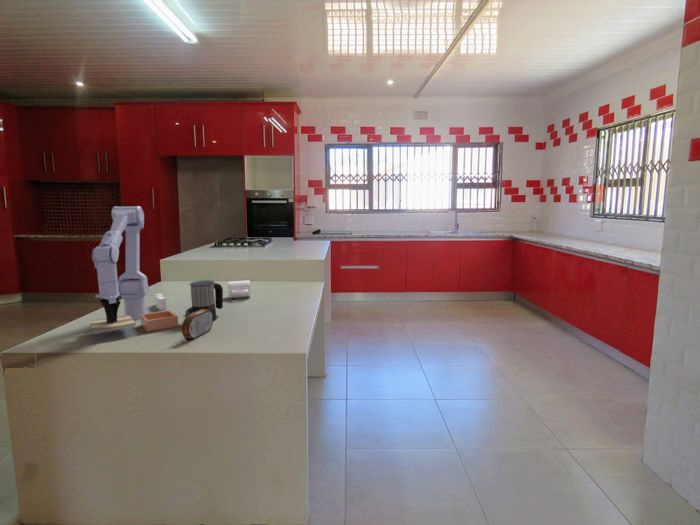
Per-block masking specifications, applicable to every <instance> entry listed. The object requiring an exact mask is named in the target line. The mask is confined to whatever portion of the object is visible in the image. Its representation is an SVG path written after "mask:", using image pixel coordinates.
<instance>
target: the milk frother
mask: <svg viewBox="0 0 700 525" xmlns="http://www.w3.org/2000/svg"><path fill="white" fill-rule="evenodd" d="M189 286H190V295H191V296H190V297H191V307H189V308H187V309H186V310H185V315H186V316H187V315H189V314H191V313H193V312H196V311H198V310H201V309H206V310H210V311H211V312H212V313H213V321H215V320H217V319H218V317H217V311H216V309H219V310H220V309H221V310H222V309H223V306H224V305H223V303H224V300H223V299H224V298H223V297H224V295H223V294H224V289H223V287H222V285H221V284H220V283H217V282H215V281H214V280H196V281H193V282H190V283H189Z"/></svg>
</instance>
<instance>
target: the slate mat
mask: <svg viewBox="0 0 700 525" xmlns="http://www.w3.org/2000/svg"><path fill="white" fill-rule="evenodd" d="M85 334H86V337H87V340H88V343H89V345H94V344H101V343H105V342H111V341H117V340H122V339H130V338H134V337H139V336H142V335H141V333H140V331H139V330H138V328H136V325H133V326H127V327H121V328H115V329H109V330H103V331H97V332H93V331H88V332H85Z"/></svg>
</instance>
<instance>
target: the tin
mask: <svg viewBox="0 0 700 525" xmlns="http://www.w3.org/2000/svg"><path fill="white" fill-rule="evenodd" d="M182 321H183V322H182V326H181V333H182V336H183V338H185V339H191V340H194V339H197V338H199V337H201V336H203V335H205V334H206V333H208V332H209V331H210V330H211V329H212V327H213V323H214V322H213V321H214V320H213V313H212V312H211V311H210V310H206V309H201V310H198V311H196V312H193V313H191V314H189V315H186V316H185V318H184V320H182Z"/></svg>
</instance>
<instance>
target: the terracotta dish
mask: <svg viewBox="0 0 700 525" xmlns="http://www.w3.org/2000/svg"><path fill="white" fill-rule="evenodd" d="M140 317H141V319H140V326H141V328H143V330H144V331H145V332H146V333H151V332H155V331H157V332H158V331H163V330H169V329H173V328H178V327H179V319H178V318H179V317H178V315H177V314H176V313H174V312H173V310H170V309H169V310H160V311H155V312H149V313H146V314H142V315H140Z"/></svg>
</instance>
